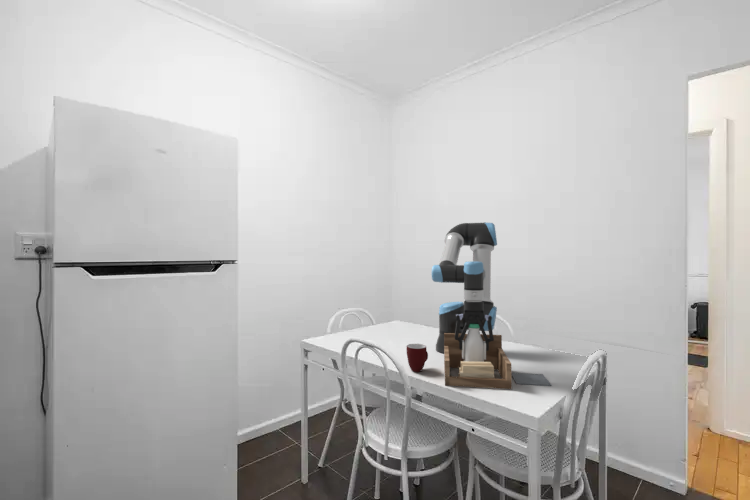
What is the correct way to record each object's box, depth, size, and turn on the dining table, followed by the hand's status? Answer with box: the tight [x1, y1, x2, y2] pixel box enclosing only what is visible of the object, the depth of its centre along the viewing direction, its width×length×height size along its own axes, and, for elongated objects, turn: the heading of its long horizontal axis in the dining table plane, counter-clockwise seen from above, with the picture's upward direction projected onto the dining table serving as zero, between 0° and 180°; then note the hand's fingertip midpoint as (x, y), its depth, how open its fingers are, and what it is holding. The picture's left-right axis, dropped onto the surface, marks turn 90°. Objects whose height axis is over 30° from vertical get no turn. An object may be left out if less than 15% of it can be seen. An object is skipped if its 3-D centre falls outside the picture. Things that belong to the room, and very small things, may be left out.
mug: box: [406, 343, 429, 373], centre depth 154 cm, size 10×8×10 cm
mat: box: [511, 371, 552, 387], centre depth 142 cm, size 12×12×1 cm
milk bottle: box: [464, 324, 484, 362], centre depth 148 cm, size 8×8×20 cm
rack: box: [443, 333, 513, 390], centre depth 145 cm, size 23×23×14 cm
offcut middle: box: [458, 367, 495, 378], centre depth 139 cm, size 6×12×2 cm, turn 81°
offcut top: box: [461, 361, 495, 374], centre depth 139 cm, size 6×11×2 cm, turn 86°
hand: (473, 358), depth 148 cm, fingers closed on milk bottle, 7 cm apart
